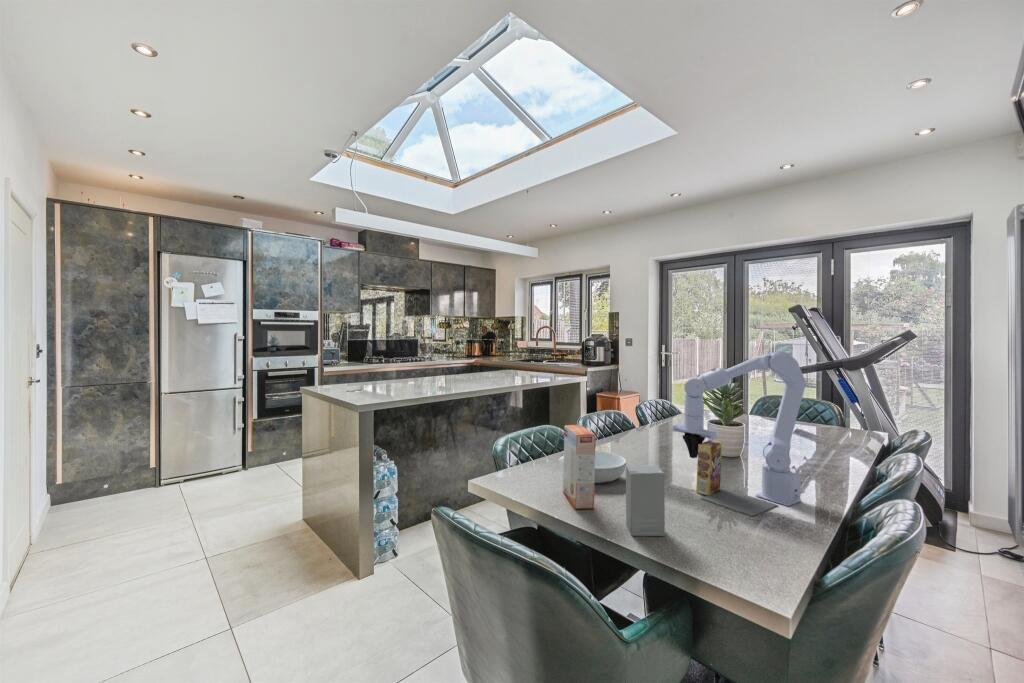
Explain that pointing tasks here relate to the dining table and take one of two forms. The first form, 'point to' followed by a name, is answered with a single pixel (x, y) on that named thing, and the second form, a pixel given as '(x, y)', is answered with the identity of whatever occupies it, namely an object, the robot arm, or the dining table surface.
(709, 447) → the candy box
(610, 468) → the serving bowl
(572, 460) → the cracker box
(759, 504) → the mat
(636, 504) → the skincare box
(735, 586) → the dining table surface
